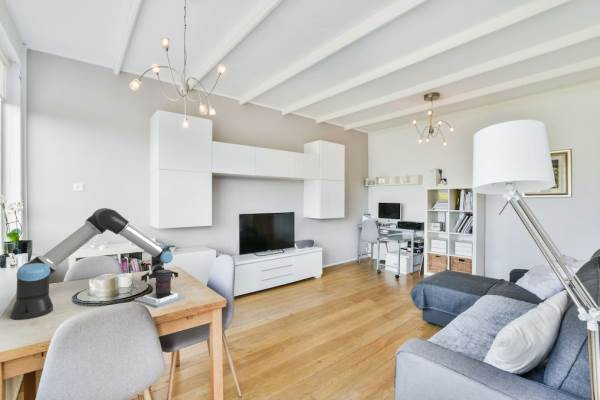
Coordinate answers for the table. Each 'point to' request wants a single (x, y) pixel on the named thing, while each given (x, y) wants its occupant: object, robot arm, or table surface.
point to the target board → (156, 302)
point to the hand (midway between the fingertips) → (161, 279)
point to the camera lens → (163, 283)
